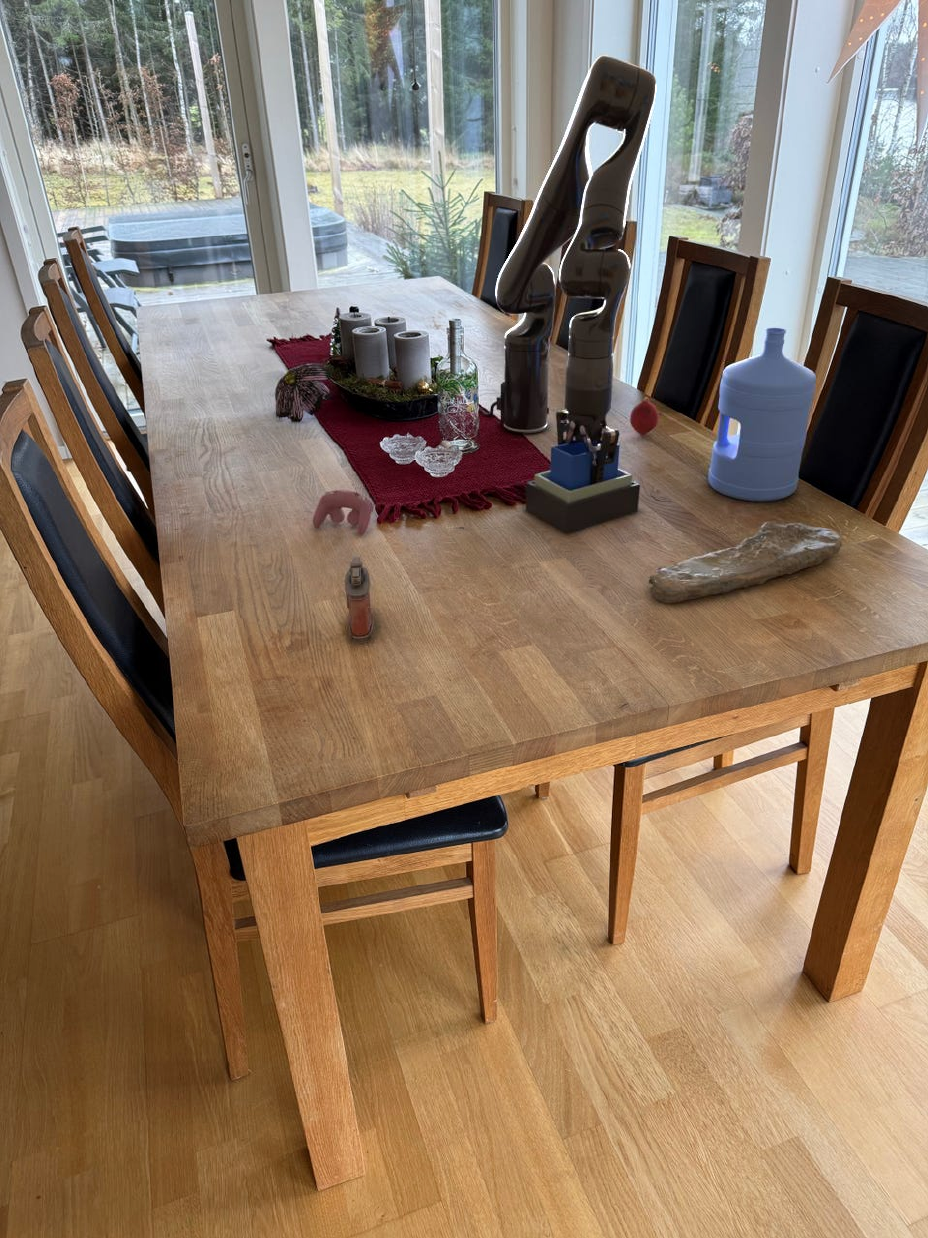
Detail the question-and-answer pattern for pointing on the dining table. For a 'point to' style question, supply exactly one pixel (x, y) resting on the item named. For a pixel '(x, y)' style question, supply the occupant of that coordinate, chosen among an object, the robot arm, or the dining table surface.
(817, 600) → the dining table surface
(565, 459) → the blue bin
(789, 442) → the water jug
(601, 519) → the outer bin
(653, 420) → the onion
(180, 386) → the dining table surface
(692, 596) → the elongated rock
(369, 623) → the lighter
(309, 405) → the decorative flower
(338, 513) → the video game controller
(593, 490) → the middle bin
